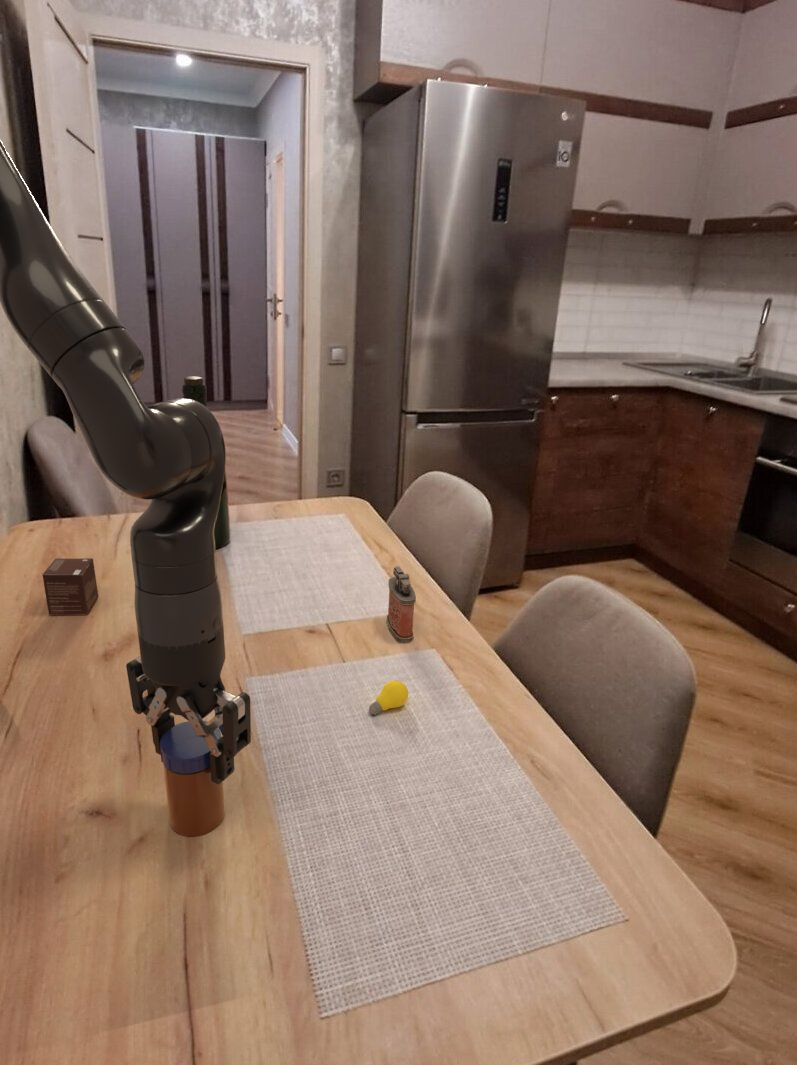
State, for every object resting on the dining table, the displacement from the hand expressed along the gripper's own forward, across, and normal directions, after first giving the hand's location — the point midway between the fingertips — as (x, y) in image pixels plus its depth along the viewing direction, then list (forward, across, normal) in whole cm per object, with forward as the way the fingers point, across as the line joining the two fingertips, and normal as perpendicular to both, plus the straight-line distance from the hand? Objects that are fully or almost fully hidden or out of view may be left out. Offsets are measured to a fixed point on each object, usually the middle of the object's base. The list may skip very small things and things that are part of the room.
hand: (193, 763), depth 67 cm
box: (+7, -48, +22) cm, 53 cm away
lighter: (+7, 0, +45) cm, 45 cm away
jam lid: (-3, 0, 0) cm, 3 cm away
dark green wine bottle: (+7, -50, +53) cm, 73 cm away
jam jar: (+7, 0, 0) cm, 7 cm away
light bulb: (+7, +8, +26) cm, 28 cm away
